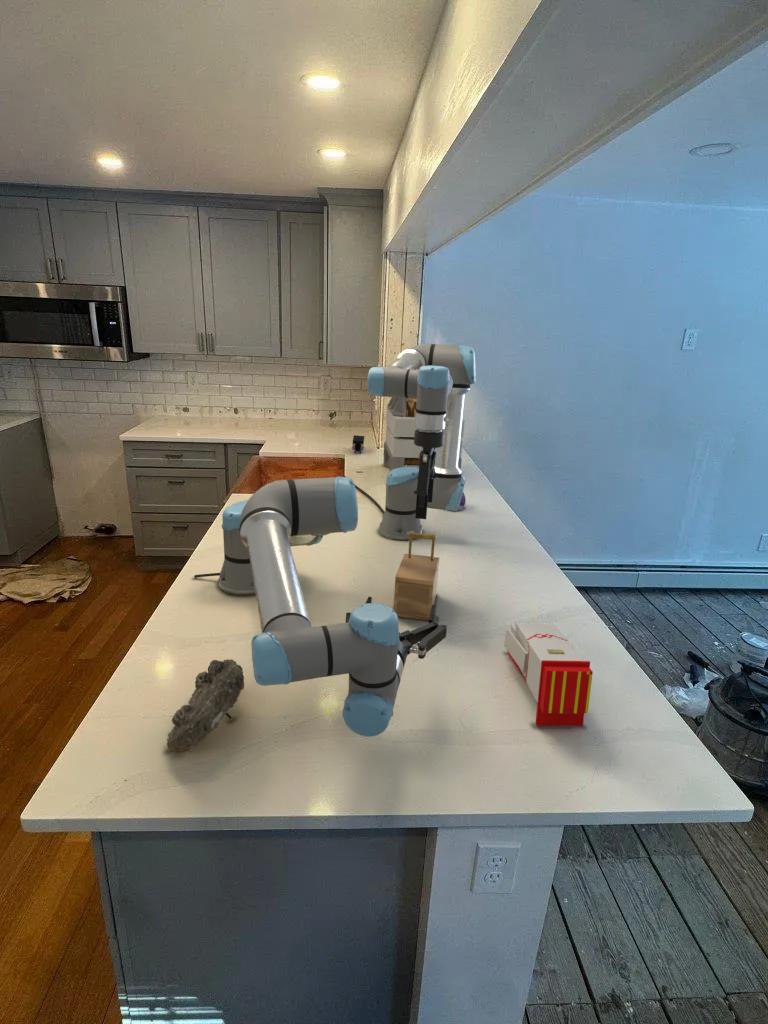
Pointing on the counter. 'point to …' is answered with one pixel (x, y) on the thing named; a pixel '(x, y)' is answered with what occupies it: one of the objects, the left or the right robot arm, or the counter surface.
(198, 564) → the counter surface
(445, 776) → the counter surface
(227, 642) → the counter surface
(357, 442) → the figurine character
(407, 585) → the chest
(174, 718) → the fossil
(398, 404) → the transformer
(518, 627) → the toy
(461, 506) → the figurine
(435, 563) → the lid
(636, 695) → the counter surface
